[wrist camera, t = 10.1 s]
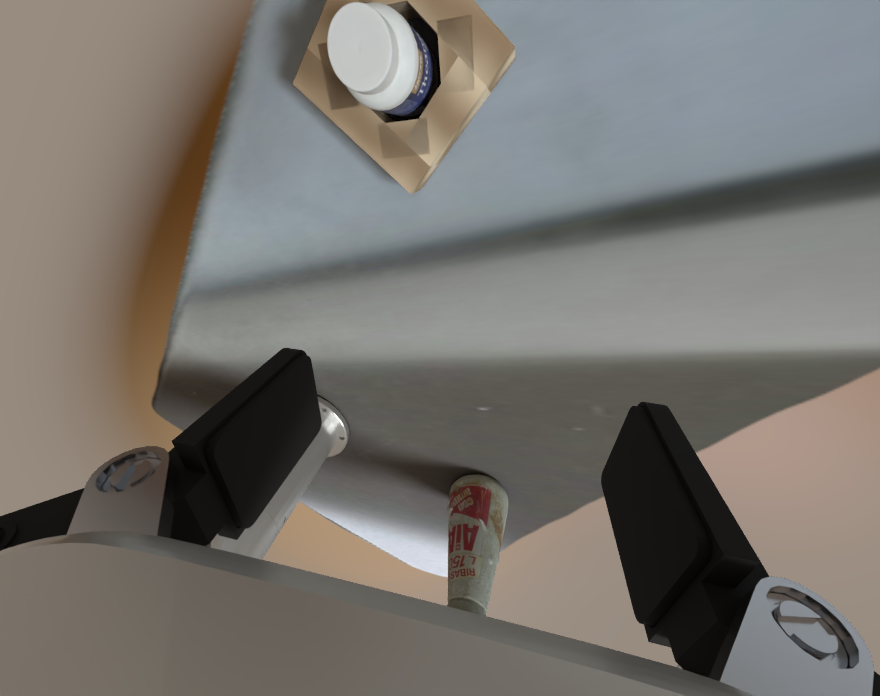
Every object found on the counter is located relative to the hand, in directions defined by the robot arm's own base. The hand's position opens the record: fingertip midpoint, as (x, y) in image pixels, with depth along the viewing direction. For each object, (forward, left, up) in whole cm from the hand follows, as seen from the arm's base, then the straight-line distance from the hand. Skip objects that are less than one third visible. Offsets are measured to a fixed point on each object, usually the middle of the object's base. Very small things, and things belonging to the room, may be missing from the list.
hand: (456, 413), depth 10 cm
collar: (+4, +14, -26) cm, 30 cm away
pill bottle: (+3, +14, -26) cm, 30 cm away
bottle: (-29, -25, -26) cm, 47 cm away
